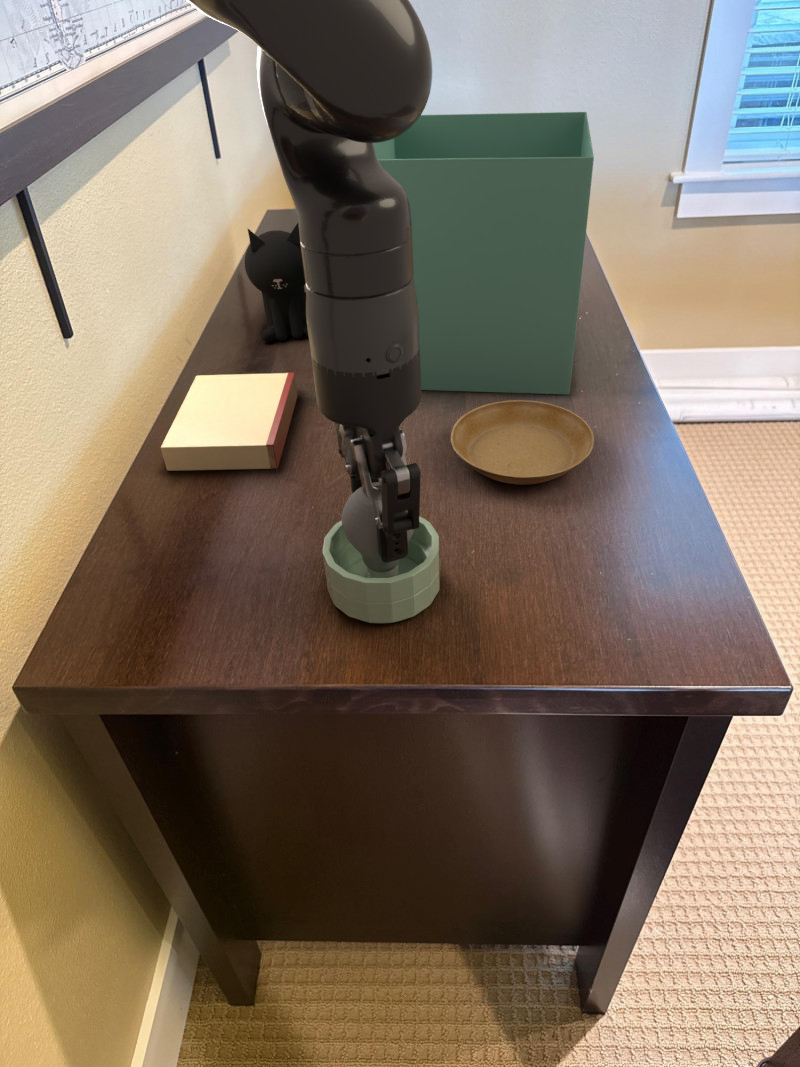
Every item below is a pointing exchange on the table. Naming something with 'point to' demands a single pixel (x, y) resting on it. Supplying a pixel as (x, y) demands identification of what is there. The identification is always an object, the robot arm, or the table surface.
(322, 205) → the robot arm
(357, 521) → the light bulb
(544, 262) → the box
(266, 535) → the table surface
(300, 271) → the figurine
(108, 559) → the table surface
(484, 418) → the plant saucer
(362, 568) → the bowl
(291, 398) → the book
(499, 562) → the table surface
